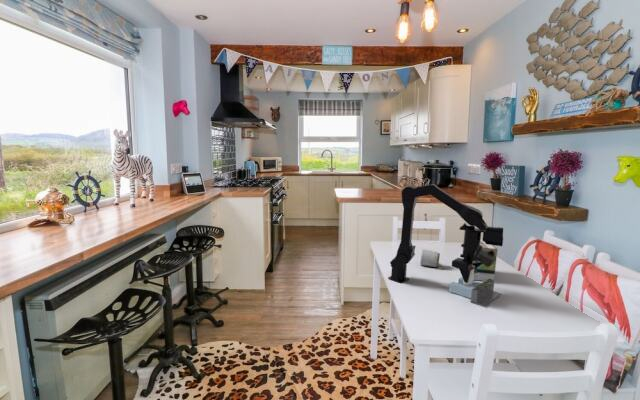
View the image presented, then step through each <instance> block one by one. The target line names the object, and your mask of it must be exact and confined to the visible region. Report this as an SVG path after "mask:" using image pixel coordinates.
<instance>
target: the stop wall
mask: <svg viewBox="0 0 640 400" xmlns="http://www.w3.org/2000/svg"><path fill="white" fill-rule="evenodd" d="M480 283H481V284H480V285H478V286H477V287H475V288H473V289H472V294H471V298H470V303H471V304H474V305H477V306H480V307H483V308H486V307H487V306H489V305H490V304H491V303H493V302H494V301H496V300H497V299H498V298H500V296H502V295H503V294H502V292H499V291H495V290H494V287H495V279H494V280H492V279H488V280H486V281H482V282H480Z"/></svg>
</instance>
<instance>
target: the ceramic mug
mask: <svg viewBox="0 0 640 400" xmlns="http://www.w3.org/2000/svg"><path fill="white" fill-rule="evenodd" d="M440 254H441V253H440V252H438V251H433V250H431V249H430V250H429V249H425V248H422V250H421V254H420V266H425V267H433V268H438V267H439V265H440V258H441V257H440V256H441V255H440Z"/></svg>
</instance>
